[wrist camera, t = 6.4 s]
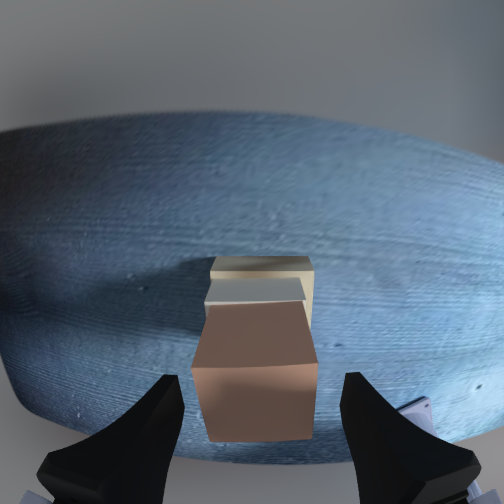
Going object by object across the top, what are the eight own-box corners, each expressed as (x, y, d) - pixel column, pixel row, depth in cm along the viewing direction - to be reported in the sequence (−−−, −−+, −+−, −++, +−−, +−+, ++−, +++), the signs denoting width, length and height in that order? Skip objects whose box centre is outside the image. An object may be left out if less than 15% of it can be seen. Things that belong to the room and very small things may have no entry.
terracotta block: (302, 300, 15) (318, 363, 10) (301, 371, 16) (311, 438, 12) (210, 305, 15) (191, 367, 10) (221, 374, 17) (209, 441, 12)
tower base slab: (307, 254, 21) (314, 270, 18) (302, 331, 22) (307, 355, 20) (217, 255, 21) (210, 271, 18) (221, 331, 23) (216, 355, 20)
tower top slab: (299, 276, 18) (306, 300, 15) (296, 347, 19) (301, 377, 16) (213, 278, 18) (204, 301, 15) (219, 349, 20) (213, 378, 17)
